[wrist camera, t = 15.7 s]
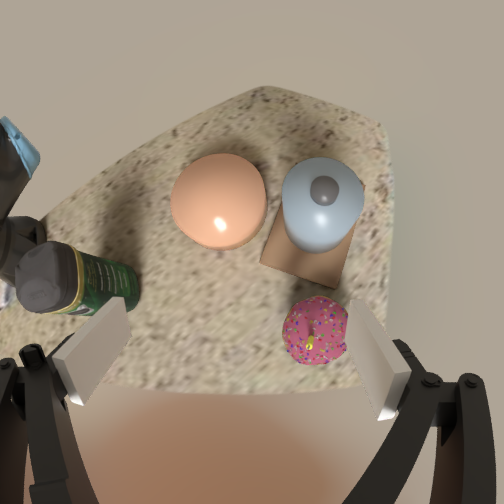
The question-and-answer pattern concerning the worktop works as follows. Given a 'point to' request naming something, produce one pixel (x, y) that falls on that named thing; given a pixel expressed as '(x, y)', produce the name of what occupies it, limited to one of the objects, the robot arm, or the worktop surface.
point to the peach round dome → (219, 201)
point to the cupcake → (315, 330)
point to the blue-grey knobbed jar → (320, 203)
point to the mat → (305, 256)
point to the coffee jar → (71, 281)
